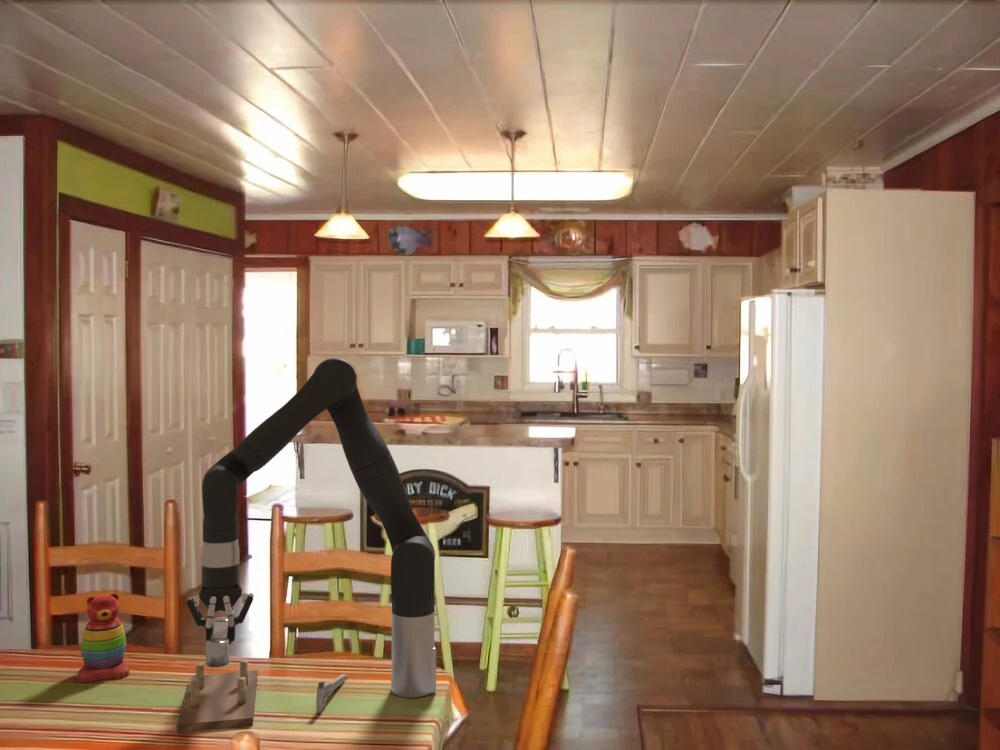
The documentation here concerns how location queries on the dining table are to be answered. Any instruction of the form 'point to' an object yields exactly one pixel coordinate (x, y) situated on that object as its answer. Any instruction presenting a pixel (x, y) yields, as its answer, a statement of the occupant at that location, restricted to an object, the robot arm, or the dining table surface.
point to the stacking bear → (103, 641)
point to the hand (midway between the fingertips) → (220, 643)
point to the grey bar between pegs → (218, 644)
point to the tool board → (219, 700)
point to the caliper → (327, 691)
